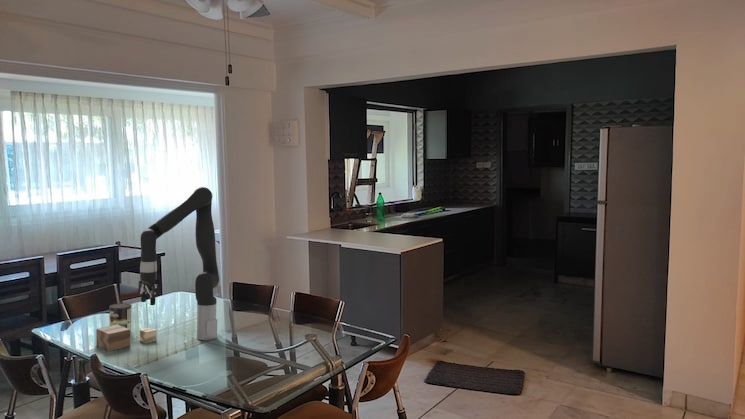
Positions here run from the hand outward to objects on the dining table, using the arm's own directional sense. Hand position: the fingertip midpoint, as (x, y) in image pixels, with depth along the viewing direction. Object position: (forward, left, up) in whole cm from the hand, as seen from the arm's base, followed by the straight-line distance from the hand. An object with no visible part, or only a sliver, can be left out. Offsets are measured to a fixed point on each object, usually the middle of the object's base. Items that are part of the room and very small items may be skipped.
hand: (148, 303), depth 263 cm
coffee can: (+21, +3, -19) cm, 28 cm away
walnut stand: (+4, +15, -18) cm, 24 cm away
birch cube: (0, 0, -18) cm, 18 cm away
